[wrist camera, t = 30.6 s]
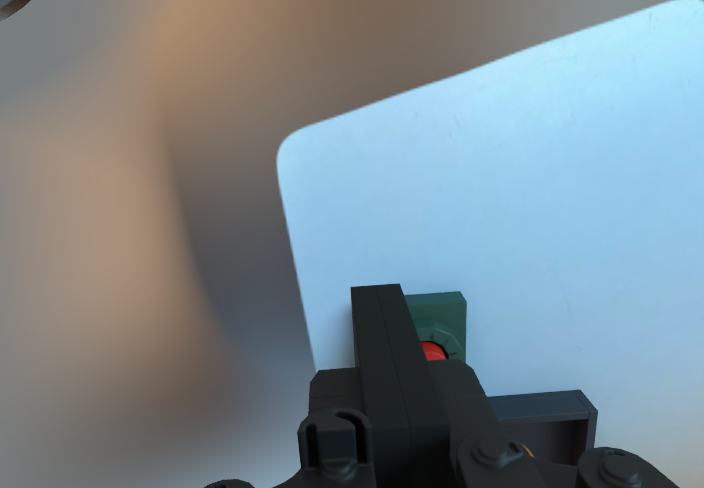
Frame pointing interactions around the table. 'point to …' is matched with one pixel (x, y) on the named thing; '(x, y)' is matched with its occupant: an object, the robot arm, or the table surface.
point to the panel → (441, 321)
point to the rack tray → (549, 423)
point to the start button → (432, 351)
